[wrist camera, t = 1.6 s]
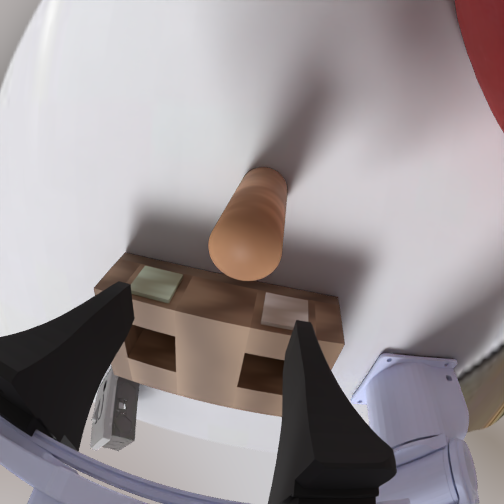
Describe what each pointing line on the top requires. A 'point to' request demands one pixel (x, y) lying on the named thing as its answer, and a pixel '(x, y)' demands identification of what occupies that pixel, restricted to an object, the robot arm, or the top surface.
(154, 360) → the socket block
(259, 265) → the peg
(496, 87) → the mixing bowl
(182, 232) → the top surface
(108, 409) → the electrical switch
